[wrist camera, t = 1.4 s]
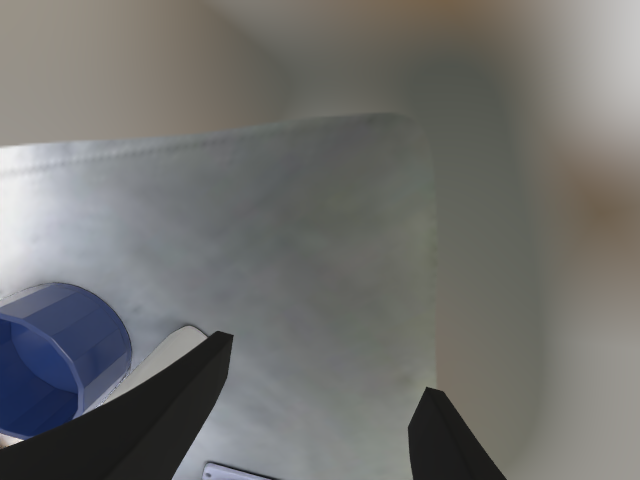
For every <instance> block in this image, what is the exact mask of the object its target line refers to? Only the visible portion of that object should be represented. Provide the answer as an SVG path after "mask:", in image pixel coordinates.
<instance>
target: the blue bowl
mask: <svg viewBox="0 0 640 480" xmlns="http://www.w3.org/2000/svg"><path fill="white" fill-rule="evenodd" d="M130 363H131V344H130V340H129V336H128V333H127V331H126V329H125V327H124V325H123V323H122V322H121V320H120V319H119V317H118V316H117V314H116V313H115V312H114V311H113V310H112V309H111V308H110V307H109V306H108V305H107V304H106V303H105V302H104V301H102V300H101V299H100V298H98V297H97V296H96V295H94V294H92V293H90V292H89V291H87V290H84V289H82V288H80V287H77V286H73V285H69V284H64V283H47V284H42V285H39V286H36V287H32V288H28V289H25V290H23V291H20V292H18V293H16V294H13V295H11V296H8V297H6V298H3V299H1V300H0V433H2V434H4V435H8V436H12V437H15V438H19V439H22V440H26V439H29V438H31V437H34V436H36V435H38V434H41V433H43V432H45V431H48V430H50V429H53V428H55V427H57V426H60V425H62V424H64V423H66V422H69V421H71V420H73V419H75V418H77V417H79V416H81V415H83V414H85V413H87V412H89V411H91V410H94V409H95V408H96V407H97V406H98V405H99V404H100V403H101V402H102V401H103V400H104V399H105V398H106V397H107V396H108V395H109V394H110V393H111V392H112V391H113V390H114V389H115V388H116V386H117V385H118V383H119V382H120V381H121V380H122V379H123V378H124V376H125V375H126V373H127V371H128V369H129V366H130Z"/></svg>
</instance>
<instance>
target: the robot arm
mask: <svg viewBox="0 0 640 480" xmlns="http://www.w3.org/2000/svg"><path fill="white" fill-rule="evenodd" d="M232 342H233V335H231V334H228V333H224V332H220V331H216V332H215V333H213V334H212V335H211V336H209V337H208V338H207V339H205V340H204V341H203V342H201V343H200V344H199V345H197V346H196V347H195V348H193V349H192V350H191V351H189V352H188V353H187V354H185V355H184V356H182V357H181V358H179V359H178V360H177V361H175V362H174V363H172V364H171V365H169V366H168V367H166V368H165V369H163V370H162V371H160V372H159V373H157V374H156V375H154V376H152V377H151V378H149V379H148V380H146V381H144V382H143V383H141V384H140V385H138V386H136V387H134V388H133V389H131V390H129V391H128V392H126V393H124V394H122V395H120V396H119V397H117V398H115V399H113V400H111V401H109V402H107V403H106V404H104V405H102V406H100V407H98V408H96V409H94V410H91V411H89V412H87V413H85V414H83V415H81V416H79V417H77V418H75V419H73V420H71V421H69V422H66V423H64V424H62V425H60V426H57V427H55V428H53V429H50V430H48V431H45V432H43V433H41V434H38V435H36V436H34V437H31V438H29V439H26V440H24V441H21V442H19V443H16V444H14V445H11V446H8V447H6V448H3V449H1V450H0V480H171V479H172V478H173V476H174V474H175V472H176V470H177V468H178V467H179V465H180V463H181V462H182V460H183V458H184V457H185V455H186V453H187V451H188V450H189V448H190V446H191V445H192V443H193V441H194V440H195V438H196V436H197V434H198V433H199V431H200V429H201V428H202V426H203V424H204V423H205V421H206V419H207V417H208V416H209V414H210V412H211V410H212V409H213V407H214V405H215V403H216V401H217V399H218V397H219V395H220V392H221V390H222V388H223V386H224V383H225V381H226V379H227V375H228V368H229V362H230V355H231V349H232ZM408 437H409V453H410V462H411V468H412V474H413V480H507V479H506V478H505V477H504V475H503V474H502V473H501V472H500V470H499V469H498V468H497V466H496V465H495V464H494V462H493V461H492V460H491V458H490V457H489V456H488V454H487V453H486V452H485V450H484V449H483V447H482V446H481V445H480V443H479V442H478V441H477V439H476V438H475V436H474V435H473V433H472V432H471V431H470V429H469V428H468V426H467V425H466V423H465V422H464V420H463V419H462V418H461V416H460V415H459V413H458V412H457V410H456V409H455V408H454V406H453V404H452V403H451V402H450V400H449V399H448V397H447V396H446V394H445V393H444V392H443V391H440V390H436V389H432V388H429V387H426V389H425V391H424V393H423V395H422V398H421V400H420V402H419V404H418V406H417V408H416V411H415V413H414V415H413V417H412V419H411V422H410V424H409V426H408ZM202 480H270V479H267V478H263V477H260V476H256V475H252V474H249V473H245V472H241V471H238V470H234V469H230V468H227V467H223V466H220V465H216V464H212V463H208V464H206V466H205V468H204V471H203V477H202Z"/></svg>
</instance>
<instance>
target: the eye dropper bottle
mask: <svg viewBox="0 0 640 480" xmlns="http://www.w3.org/2000/svg"><path fill="white" fill-rule="evenodd" d="M207 338H208V337H207V336H205V335H204V334H203V333H202V332H201V331H199V330H198V329H196V328H195V327H192V326H185V327H183V328H181V329H179V330H177V331H175V332H173V333H171V334H170V335H169V336H168V337H167V338H166V339H165V340H164V341H163V342H162V343H161V344H160V345H159V346H158V347H157V348H156V349H155V350H154V351H153V352H152V353H151V354H150V355H149V356H148V357H147V358H146V359H145V360H144V361H143V362H142V363H141V364H140V365H139V366H138V367H137V368H136V369H135V370H134V371H133V372H132V373H131V374H130V375H129V376H128V377H127V378H126V379H125V380H124V381H123V382H122V383H121V384H120V385H119V386H118V387H117V388H116V389H115V390H114V391H113V392H112V393H111V394H110V395H109V397H108V398H107V399H106V400H105V401H104V403H103V405H104V404H106V403H107V402H109V401H111V400H113V399H115V398H117V397H119V396H120V395H122V394H124V393H126V392H128V391H129V390H131V389H133V388H134V387H136V386H138V385H140V384H141V383H143V382H144V381H146V380H148V379H149V378H151V377H152V376H154V375H156V374H157V373H159V372H160V371H162V370H163V369H165V368H166V367H168V366H169V365H171V364H172V363H174V362H175V361H177V360H178V359H179V358H181V357H182V356H184V355H185V354H187V353H188V352H189V351H191V350H192V349H193V348H195V347H196V346H197V345H199V344H200V343H201V342H203V341H204V340H205V339H207Z"/></svg>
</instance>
